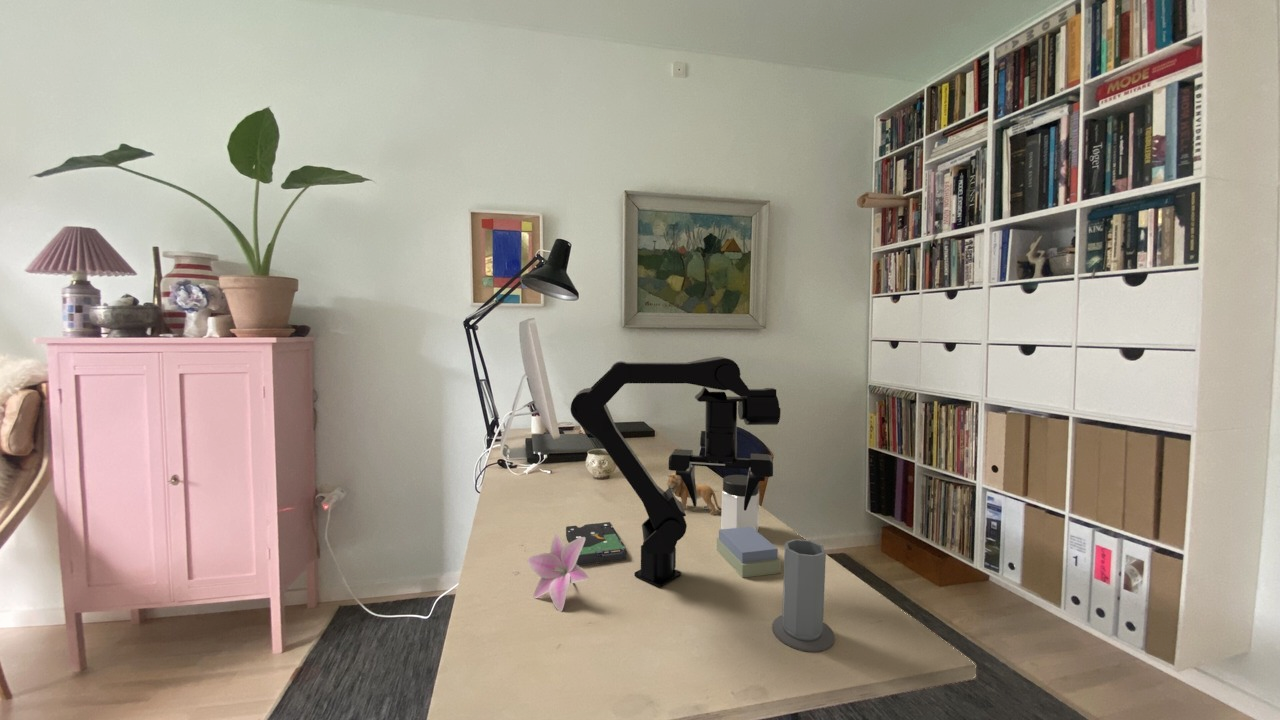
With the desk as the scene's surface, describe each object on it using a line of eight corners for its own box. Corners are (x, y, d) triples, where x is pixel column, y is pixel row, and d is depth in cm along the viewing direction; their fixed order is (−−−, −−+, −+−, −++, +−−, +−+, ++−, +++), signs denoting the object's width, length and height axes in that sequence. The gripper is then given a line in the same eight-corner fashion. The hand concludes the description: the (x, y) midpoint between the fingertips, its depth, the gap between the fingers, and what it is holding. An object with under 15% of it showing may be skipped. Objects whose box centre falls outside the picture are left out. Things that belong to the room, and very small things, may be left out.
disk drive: (564, 538, 111) (576, 568, 97) (564, 526, 111) (576, 554, 96) (610, 533, 114) (628, 561, 100) (610, 521, 114) (628, 547, 100)
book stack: (780, 572, 95) (781, 550, 94) (742, 577, 93) (742, 554, 92) (751, 546, 106) (751, 526, 106) (716, 549, 104) (717, 529, 104)
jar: (766, 532, 114) (768, 481, 113) (744, 542, 108) (745, 488, 108) (736, 520, 120) (737, 472, 120) (713, 529, 115) (714, 478, 115)
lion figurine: (664, 509, 127) (665, 475, 127) (669, 503, 132) (669, 469, 132) (722, 516, 123) (722, 480, 123) (724, 509, 128) (725, 474, 128)
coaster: (819, 660, 70) (819, 657, 70) (761, 633, 76) (761, 630, 76) (843, 632, 76) (843, 629, 76) (788, 609, 82) (788, 607, 82)
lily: (525, 585, 91) (510, 552, 86) (581, 549, 96) (569, 516, 91) (553, 636, 82) (537, 602, 77) (612, 594, 87) (601, 559, 82)
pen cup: (805, 646, 72) (808, 559, 71) (774, 626, 77) (777, 544, 76) (829, 633, 75) (832, 550, 74) (798, 615, 80) (801, 536, 79)
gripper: (771, 419, 98) (770, 497, 98) (677, 415, 102) (676, 490, 103) (773, 430, 87) (772, 518, 88) (668, 425, 91) (667, 509, 92)
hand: (719, 507), depth 93 cm, fingers open, 9 cm apart
